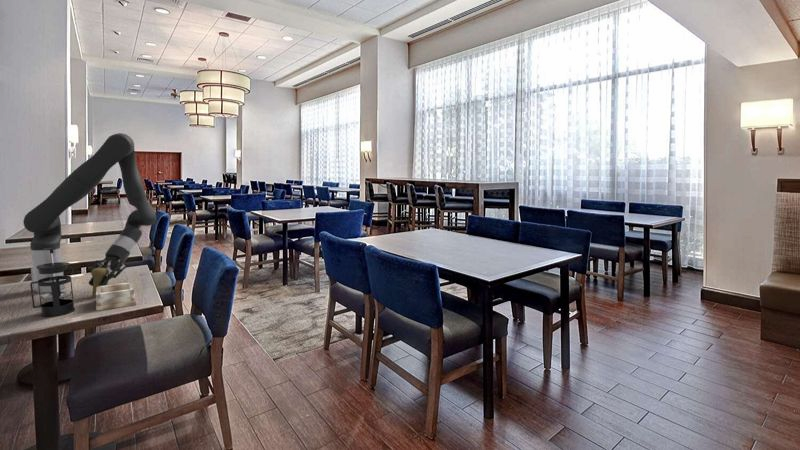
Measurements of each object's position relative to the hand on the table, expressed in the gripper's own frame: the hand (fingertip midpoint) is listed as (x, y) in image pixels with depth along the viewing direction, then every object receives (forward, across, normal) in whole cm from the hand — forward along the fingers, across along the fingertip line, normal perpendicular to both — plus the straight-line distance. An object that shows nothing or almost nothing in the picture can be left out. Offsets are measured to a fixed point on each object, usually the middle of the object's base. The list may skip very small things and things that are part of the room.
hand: (95, 285), depth 164 cm
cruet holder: (+5, +13, +1) cm, 14 cm away
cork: (+2, 0, +5) cm, 5 cm away
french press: (+16, +3, -9) cm, 18 cm away
